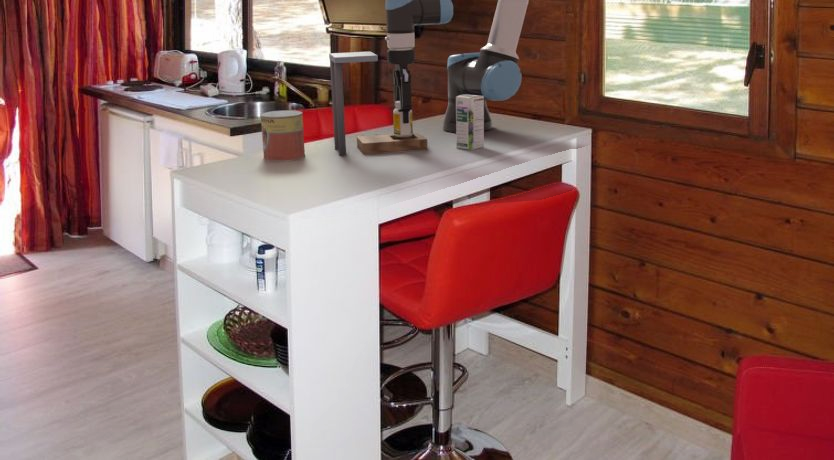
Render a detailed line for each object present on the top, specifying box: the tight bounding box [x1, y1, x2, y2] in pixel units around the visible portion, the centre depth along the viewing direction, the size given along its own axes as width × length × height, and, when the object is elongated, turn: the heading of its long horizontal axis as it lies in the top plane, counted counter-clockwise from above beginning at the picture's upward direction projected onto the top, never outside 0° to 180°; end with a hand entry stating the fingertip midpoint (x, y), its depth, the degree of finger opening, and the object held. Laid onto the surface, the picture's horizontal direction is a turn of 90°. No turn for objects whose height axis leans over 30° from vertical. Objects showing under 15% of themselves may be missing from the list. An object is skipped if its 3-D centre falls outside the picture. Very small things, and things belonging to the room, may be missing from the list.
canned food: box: [260, 109, 306, 163], centre depth 251 cm, size 11×11×12 cm
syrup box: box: [455, 95, 485, 151], centre depth 256 cm, size 6×6×14 cm
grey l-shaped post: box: [328, 51, 379, 157], centre depth 255 cm, size 12×12×26 cm
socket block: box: [356, 132, 428, 155], centre depth 260 cm, size 18×11×3 cm, turn 102°
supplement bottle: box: [392, 101, 414, 137], centre depth 259 cm, size 5×5×10 cm
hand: (403, 132), depth 260 cm, fingers closed on supplement bottle, 5 cm apart
